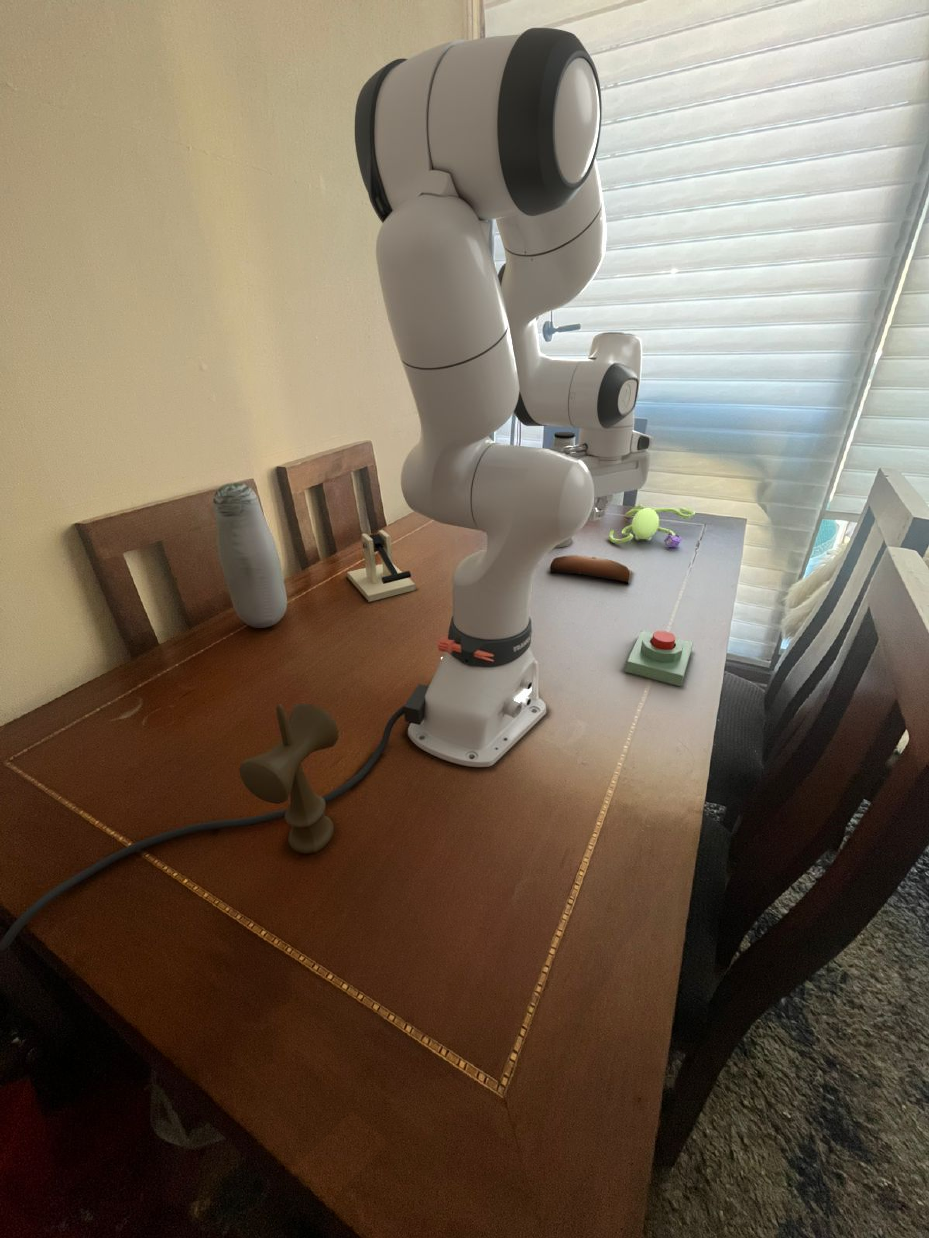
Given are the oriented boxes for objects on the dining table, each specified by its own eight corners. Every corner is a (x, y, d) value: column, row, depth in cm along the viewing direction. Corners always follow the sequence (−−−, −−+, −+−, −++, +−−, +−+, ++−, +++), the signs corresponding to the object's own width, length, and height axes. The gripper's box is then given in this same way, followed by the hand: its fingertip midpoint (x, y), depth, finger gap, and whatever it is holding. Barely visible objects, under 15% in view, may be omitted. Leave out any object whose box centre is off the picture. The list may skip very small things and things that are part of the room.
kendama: (356, 812, 63) (332, 682, 53) (309, 881, 56) (271, 745, 45) (314, 798, 65) (284, 670, 55) (264, 864, 57) (218, 729, 47)
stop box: (680, 686, 84) (685, 666, 82) (625, 671, 87) (628, 652, 85) (690, 653, 92) (695, 634, 90) (639, 640, 96) (642, 622, 94)
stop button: (671, 652, 86) (673, 644, 85) (649, 647, 87) (651, 638, 86) (675, 642, 88) (677, 633, 88) (653, 637, 90) (655, 628, 89)
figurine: (694, 524, 148) (698, 505, 146) (676, 556, 129) (681, 535, 126) (629, 514, 156) (632, 496, 154) (604, 543, 137) (606, 523, 134)
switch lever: (410, 580, 109) (411, 572, 107) (383, 586, 107) (384, 578, 105) (386, 540, 116) (387, 531, 114) (361, 545, 113) (361, 537, 111)
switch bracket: (415, 589, 115) (412, 540, 109) (369, 602, 110) (362, 550, 104) (391, 567, 125) (387, 521, 120) (348, 577, 121) (341, 530, 115)
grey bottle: (236, 618, 105) (198, 481, 91) (287, 606, 109) (258, 474, 95) (242, 641, 97) (201, 496, 83) (296, 627, 101) (267, 487, 87)
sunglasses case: (632, 569, 121) (634, 551, 116) (627, 593, 118) (629, 577, 113) (557, 558, 127) (555, 541, 122) (550, 582, 124) (548, 565, 119)
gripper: (570, 451, 81) (562, 534, 88) (660, 437, 90) (647, 514, 97) (545, 444, 86) (539, 524, 92) (633, 432, 95) (622, 506, 101)
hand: (595, 519), depth 95 cm, fingers closed
